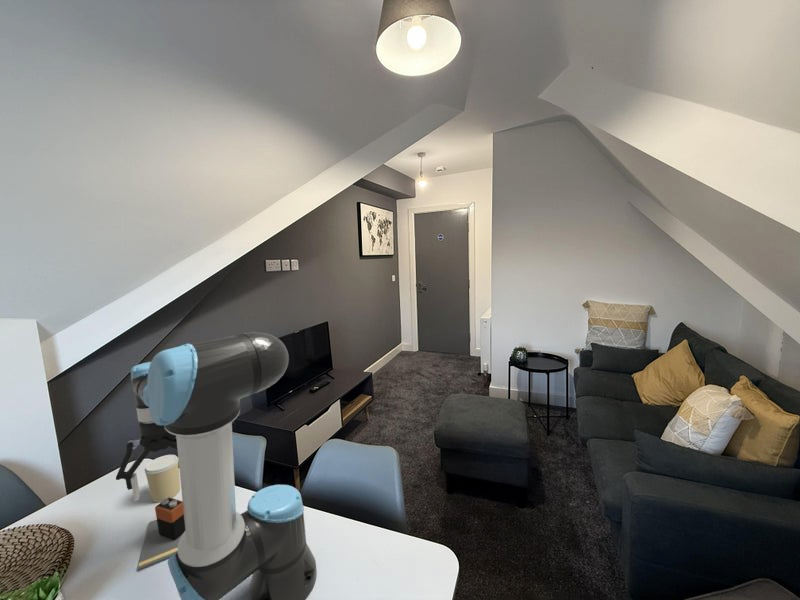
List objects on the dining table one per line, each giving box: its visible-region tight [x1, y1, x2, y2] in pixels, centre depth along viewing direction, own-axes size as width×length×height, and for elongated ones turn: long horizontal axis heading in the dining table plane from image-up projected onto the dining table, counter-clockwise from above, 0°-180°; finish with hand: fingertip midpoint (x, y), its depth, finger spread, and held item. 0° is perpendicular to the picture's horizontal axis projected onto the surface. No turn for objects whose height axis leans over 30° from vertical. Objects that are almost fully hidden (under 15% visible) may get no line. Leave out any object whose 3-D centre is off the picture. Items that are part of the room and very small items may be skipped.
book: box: [137, 519, 182, 572], centre depth 94 cm, size 18×14×1 cm
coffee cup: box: [144, 454, 181, 504], centre depth 110 cm, size 9×9×12 cm
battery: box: [154, 497, 185, 540], centre depth 94 cm, size 4×7×10 cm, turn 70°
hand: (167, 488), depth 92 cm, fingers open, 13 cm apart
